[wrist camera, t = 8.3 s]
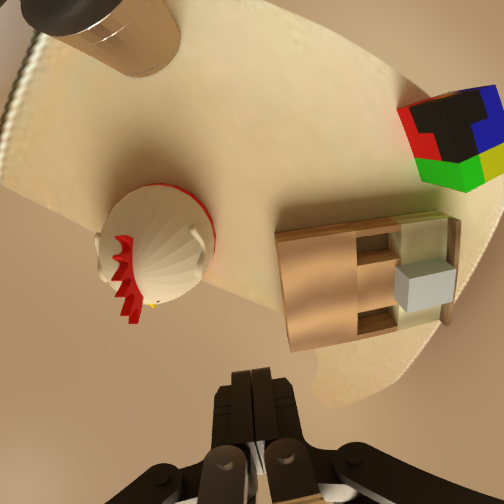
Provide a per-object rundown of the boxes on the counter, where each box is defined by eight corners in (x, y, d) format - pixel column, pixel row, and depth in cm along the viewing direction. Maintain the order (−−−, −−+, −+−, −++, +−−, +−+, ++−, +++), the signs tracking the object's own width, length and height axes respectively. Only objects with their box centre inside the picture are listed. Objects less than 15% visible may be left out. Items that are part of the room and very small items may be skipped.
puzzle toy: (449, 92, 33) (495, 84, 23) (470, 158, 36) (517, 165, 26) (396, 109, 34) (438, 101, 24) (421, 181, 37) (466, 192, 27)
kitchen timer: (121, 290, 41) (74, 352, 26) (104, 190, 36) (36, 216, 22) (220, 286, 41) (209, 357, 26) (211, 178, 36) (189, 197, 22)
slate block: (395, 266, 36) (409, 278, 32) (439, 257, 36) (456, 268, 32) (393, 298, 37) (406, 313, 34) (437, 288, 37) (452, 301, 33)
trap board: (274, 233, 38) (279, 248, 33) (436, 210, 38) (461, 220, 32) (287, 336, 43) (292, 361, 37) (431, 306, 43) (450, 324, 37)
